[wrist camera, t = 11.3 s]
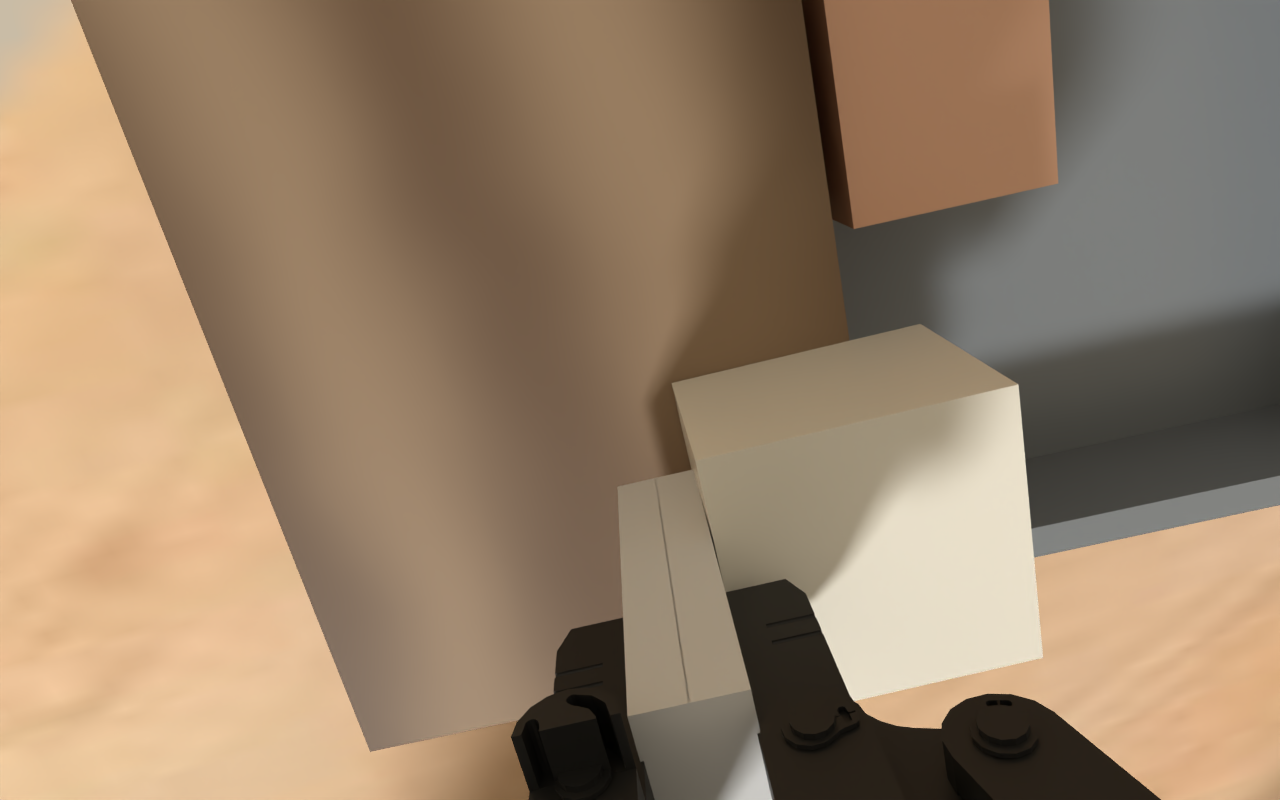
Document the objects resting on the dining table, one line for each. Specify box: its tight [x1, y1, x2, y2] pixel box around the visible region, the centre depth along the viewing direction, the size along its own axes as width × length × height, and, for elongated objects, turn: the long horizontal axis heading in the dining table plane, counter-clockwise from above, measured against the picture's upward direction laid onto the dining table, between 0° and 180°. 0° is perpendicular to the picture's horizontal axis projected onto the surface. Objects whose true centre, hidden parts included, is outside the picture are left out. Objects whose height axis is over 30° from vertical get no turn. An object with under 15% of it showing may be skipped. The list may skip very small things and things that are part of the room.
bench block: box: [71, 0, 849, 752], centre depth 19 cm, size 12×16×6 cm
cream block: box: [672, 324, 1043, 701], centre depth 15 cm, size 5×5×4 cm
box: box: [832, 0, 1280, 557], centre depth 20 cm, size 14×16×4 cm
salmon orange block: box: [801, 0, 1058, 229], centre depth 18 cm, size 5×5×4 cm
